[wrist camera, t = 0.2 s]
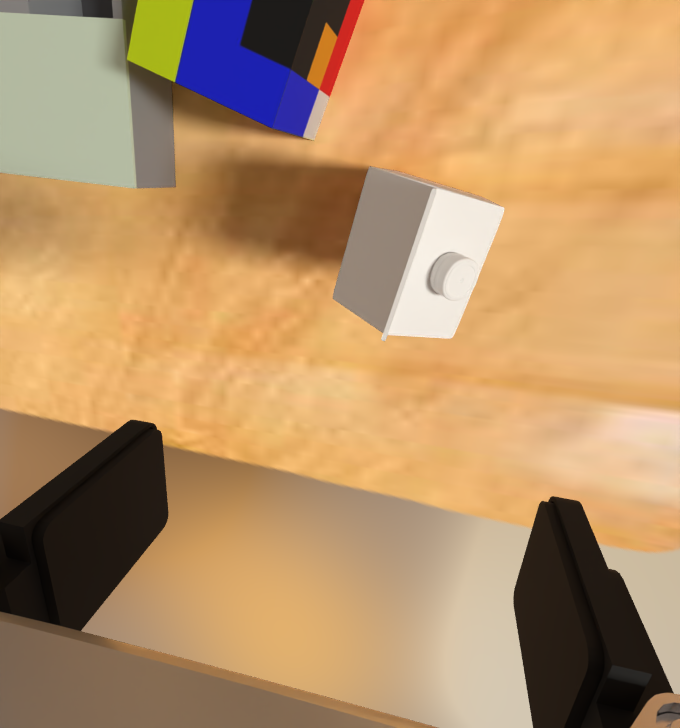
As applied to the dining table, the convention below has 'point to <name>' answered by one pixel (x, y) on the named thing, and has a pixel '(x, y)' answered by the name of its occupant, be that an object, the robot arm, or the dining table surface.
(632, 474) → the dining table surface
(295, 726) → the robot arm
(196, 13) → the puzzle toy
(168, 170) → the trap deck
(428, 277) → the milk carton
